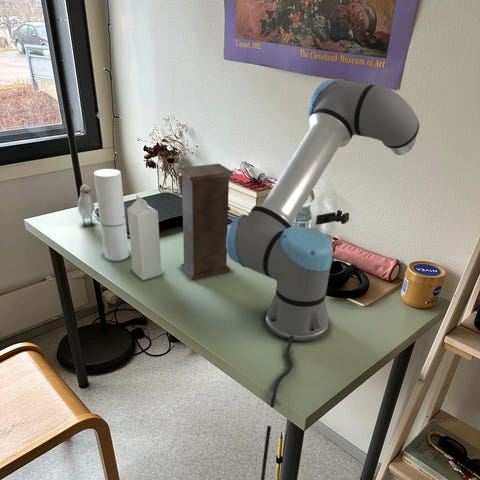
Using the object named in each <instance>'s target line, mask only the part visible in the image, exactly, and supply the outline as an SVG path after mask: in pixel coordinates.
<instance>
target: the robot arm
mask: <svg viewBox="0 0 480 480" xmlns="http://www.w3.org/2000/svg"><path fill="white" fill-rule="evenodd" d="M309 102H310V104H309V105H308V110H307V116H308V127H309V129H308V131H307V132H306V134H305V136H304V138H303V139H302V140H301V142H300V144H299V145H298V147H297V148H296V150H295V152H294V153H293V155H292V156H291V158H290V160H289V161H288V163H287V165H286V166H285V168H284V169H283V171H282V172H281V174H280V175H279V177H278V178H277V180H276V182H275V183H274V185H273V187H272V189H271V190H270V192H269V193H268V195H267V196H266V198H265V199H264V201H263V202H262V203H261V204H255V205H253V207H252V208H251V210H250V212H249V213H248V214H240V215H237V216H235V217H234V218H233V220H232V221H231V222H230V224H229V225H228V226H229V227H228V229H227V236H226V249H227V256H228V257H229V258H230V260H231V261H233V262H235V263H237V264H238V265H240V266H241V267H243V268H247V269H250V270H252V271H254V272H256V273H259V274H262V275H263V276H265V277H268V278H270V279H272V280H275V281H276V289H275V295H274V297H273V299H272V301H271V302H270V305H269V307H268V309H267V310H266V311H267V312H266V316H265V324H266V328H268V330H269V331H270V332H271V333H272V334H274V335H276V336H277V337H279V338H281V339H284V340H287V341H288V343H287V346H286V351H285V355H286V356H285V357H286V359H287V362H288V367H287V368H286V370H285V371H284V372H283V373H281V374H280V375H279V376H278V378H277V379H276V381H275V383H274V385H273V390H272V396H271V401H270V405H269V407H270V408H274V407H275V404H276V401H277V394H278V389H279V387H280V383H281V382H282V380H283V379H284V378H285V377H286V376H287V375H288V374H289V373H290V372H291V370H292V368H293V361H292V358H291V355H290V352H291V351H290V350H291V348H292V345H293V342H299V343H300V342H303V343H304V342H312V341H315V340H318V339H320V338H322V337H324V336H325V334H326V333H327V332H328V328H329V322H330V320H329V313H328V308H327V303H326V295H327V289H328V283H329V277H330V272H331V267H332V264H333V244H332V242H331V240H330V238H328V237H327V235H325V234H324V233H323V232H321V231H319V230H316V229H314V228H311V227H307V226H306V227H304V226H301V225H297V226H296V225H295V226H294V225H293V222H294V221H295V219H296V217H297V216H298V214H299V213H300V211H301V209H302V206H303V204H304V203H305V201H306V200H307V198H308V196H309V195H311V193H312V191H313V190H314V189H315V186H316V185H317V183H319V180H320V178H322V175H323V174H324V172H325V170H326V169H327V167H328V165H329V164H330V162H331V160H332V159H333V157H334V156H335V154H336V153H337V151H338V149H339V148H344V147H346V146H347V145H348V144H349V143H350V141H351V139H352V138H353V136H360V137H364V138H370V139H374V140H377V141H379V142H381V143H382V144H383V145H384V147H386V148H387V149H391V150H392V151H393V152H394V153H395V154H397V155H404V154H406V153H407V152H409V151H410V150H411V149H412V147H413V146H414V144H415V141H416V137H417V134H418V133H419V131H420V122H419V119H418V116H417V114H416V113H415V111H414V109H413V108H412V107H411V105H410V104H409V103H408V102H407V101H406V99H404V98H403V97H402V96H401V95H400V94H398V93H397V92H396V91H394V90H393V89H391V88H389V87H387V86H384V85H379V84H371V83H364V82H357V81H349V80H346V79H342V78H340V79H327V80H325V81H323V82H322V83H320V84H319V85H318V86H317V87H316V89H315V90H314V91H313V93H312V96H311V98H310V101H309ZM341 215H342V211H340V210H338V211H335V212H334V211H333V212H327V213H321V214H317V215H316V219H315V225H317V226H318V225H319V226H320V225H325V224H329V223H334V222H336V223H340V224H342V225H345V224H347V223H348V222H349V221H350V220H349V213H345V214H343V215H342V216H341ZM348 220H349V221H348ZM271 431H272V426H270V425H266V432H265V441H264V450H263V459H262V465H261V466H262V467H261V476H260V480H265V479H266V478H265V477H266V471H267V462H268V453H269V446H270V437H271Z"/></svg>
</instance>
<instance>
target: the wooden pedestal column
mask: <svg viewBox="0 0 480 480" xmlns="http://www.w3.org/2000/svg"><path fill="white" fill-rule="evenodd" d="M177 173H178V174H179V175H180V176H181V200H182V201H181V202H182V203H181V204H182V235H183V237H182V240H183V263H181V264H180V269H181V270H182V271H183V272H184V273H185V274H186V275H187V277H189V279H190V280H191V281H194V280H198V279H203V278H208V277H212V276H216V275H221V274H225V273H230V271H231V268H230V267H229V265H228V264H227V259H228V253H227V249H226V236H227V232H228V229H229V227H228V226H229V225H228V224H229V223H228V222H229V211H230V210H231V207H230V206H229V193H230V191H229V190H230V177H233V176H234V171H232V170H231V169H229V168H227V167H225V166H224V165H222V164H221V163H211V164H202V165H193V166H187V167H186V166H185V167H177Z"/></svg>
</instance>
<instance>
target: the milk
mask: <svg viewBox="0 0 480 480" xmlns="http://www.w3.org/2000/svg"><path fill="white" fill-rule="evenodd" d="M135 197H136V198H135V199H136V200H135V201H134V202H133V203H132V204H130V206H128V208H127V209H126V212H127V221H128V222H127V223H128V231H129V241H130V242H129V243H130V253H131V262H132V272H133V273H134V274H135V275H137V277H139V279H141V280H142V281H145V280H149V279H152V278H155V277H158V276H162V258H161V257H162V256H161V244H160V243H161V242H160V225H159V211H158V210H156V209H155V208H153V207H151V206H150V205H149V204H148V201H146V200H145V199H144V198H142V197H140V195H136V196H135Z"/></svg>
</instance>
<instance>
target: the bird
mask: <svg viewBox="0 0 480 480" xmlns="http://www.w3.org/2000/svg"><path fill="white" fill-rule="evenodd" d="M79 191H80V194H79V198H78V201H77V209H78V210H77V211H78V213H79V214H80V217H81V219H82V221H83V225H82V227H85V228H87V227H88V226H90V227H91V226H94V225H96V223H93V220H92V219H93V215H92V214H93V212H94V211H95V203H94V201H93V199H92V195H91V194H92V191H91V188H90V186H89V185H87V184H86V183H85V184H82V185H81V186H80V188H79ZM85 219H86V220H88V219H90V225H88V224H86V223H85Z"/></svg>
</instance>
